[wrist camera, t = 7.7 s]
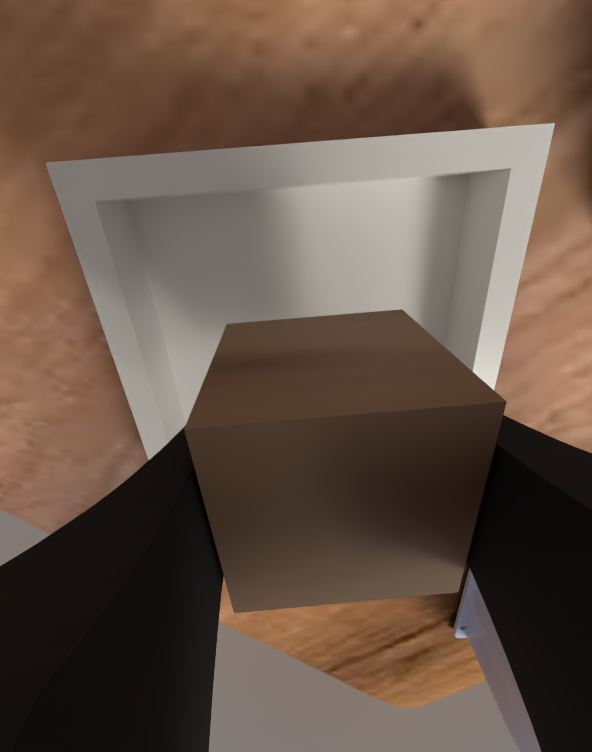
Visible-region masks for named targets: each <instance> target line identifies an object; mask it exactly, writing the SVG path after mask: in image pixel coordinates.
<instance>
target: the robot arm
mask: <svg viewBox="0 0 592 752" xmlns="http://www.w3.org/2000/svg"><path fill="white" fill-rule="evenodd" d="M185 426H186V425H185ZM185 426H184V427H183V428H182V429H181V430H180V431H179V432H178V433H177V434H176V435H175V436H174V437H173V438H172V439H171V440H170V441H169V442H168V443H167V444H166V445H165V446H164V447H163V448H162V449H161V450H160V451H159V452H158V453H157V454H155V455H154V456H153V457H152V458H151V459H150V460H149V461H148V462H147V463H146V464H144V465H143V466H142V467H141V468H140V469H139V470H138V471H137V472H136V473H134V474H133V475H132V476H131V477H130V478H128V479H127V480H126V481H125V482H124V483H122V484H121V485H120V486H119V487H117V488H116V489H115V490H113V491H112V492H111V493H109V494H108V495H107V496H106V497H104V498H103V499H102V500H100V501H99V502H98V503H96V504H95V505H94V506H92V507H91V508H89V509H88V510H87V511H85V512H84V513H82V514H81V515H79V516H78V517H76V518H75V519H73V520H72V521H70V522H69V523H67V524H66V525H64V526H63V527H61V528H60V529H58V530H57V531H55V532H54V533H52V534H51V535H49V536H48V537H47V538H45V539H44V540H42V541H41V542H39V543H38V544H36V545H34V546H33V547H31V548H29V549H28V550H26V551H25V552H23V553H21V554H20V555H18V556H17V557H15V558H13V559H12V560H10V561H8V562H6V563H5V564H3V565H1V566H0V752H208V751H209V736H210V722H211V707H212V693H213V692H212V691H213V680H214V668H215V656H216V643H217V631H218V621H219V611H220V600H221V590H222V583H223V577H224V574H223V570H222V567H221V563H220V559H219V556H218V552H217V548H216V545H215V541H214V537H213V534H212V530H211V526H210V523H209V519H208V515H207V512H206V508H205V504H204V501H203V497H202V493H201V490H200V486H199V482H198V479H197V475H196V471H195V468H194V464H193V460H192V457H191V453H190V449H189V446H188V442H187V438H186V435H185V431H184V428H185ZM466 562H467V564H468V566H469V571H468V575H467V579H466V583H465V586H464V590H463V594H462V598H461V602H460V606H459V609H458V613H457V617H456V621H455V625H454V628H453V633H454V635H455V637H457V638H468V639H469V641H470V643H471V645H472V648H473V650H474V652H475V655H476V657H477V659H478V662H479V664H480V666H481V668H482V671H483V673H484V675H485V678H486V680H487V682H488V684H489V687H490V689H491V691H492V694H493V696H494V698H495V701H496V703H497V705H498V708H499V710H500V712H501V714H502V717H503V719H504V721H505V724H506V726H507V728H508V730H509V733H510V735H511V736H512V738H513V740H514V742H515V744H516V745H517V747H518V749H519V750H520V751H521V752H592V453H589V452H587V451H584V450H581V449H579V448H576V447H573V446H571V445H569V444H566V443H564V442H561V441H559V440H556V439H554V438H552V437H550V436H547V435H545V434H543V433H541V432H538V431H536V430H534V429H532V428H529V427H527V426H525V425H523V424H521V423H519V422H517V421H515V420H512V419H510V418H508V417H506V416H504V415H503V417H502V421H501V425H500V429H499V433H498V437H497V441H496V445H495V449H494V453H493V457H492V461H491V465H490V469H489V473H488V477H487V481H486V485H485V489H484V493H483V497H482V501H481V505H480V509H479V513H478V516H477V520H476V524H475V528H474V532H473V536H472V540H471V544H470V548H469V552H468V556H467V560H466Z"/></svg>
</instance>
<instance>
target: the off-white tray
mask: <svg viewBox="0 0 592 752" xmlns="http://www.w3.org/2000/svg"><path fill="white" fill-rule="evenodd" d="M554 126H555V123H550V124H537V125H524V126H511V127H498V128H485V129H472V130H459V131H446V132H433V133H421V134H408V135H395V136H382V137H369V138H356V139H343V140H330V141H317V142H304V143H291V144H278V145H265V146H252V147H239V148H226V149H213V150H200V151H187V152H174V153H162V154H149V155H136V156H123V157H110V158H97V159H84V160H71V161H58V162H45V164H46V167H47V169H48V172H49V175H50V178H51V181H52V184H53V187H54V190H55V192H56V195H57V198H58V201H59V204H60V207H61V210H62V213H63V215H64V218H65V221H66V224H67V227H68V230H69V233H70V236H71V238H72V241H73V244H74V247H75V250H76V253H77V256H78V259H79V261H80V264H81V267H82V270H83V273H84V276H85V279H86V282H87V284H88V287H89V290H90V293H91V296H92V299H93V302H94V305H95V307H96V310H97V313H98V316H99V319H100V322H101V325H102V328H103V330H104V333H105V336H106V339H107V342H108V345H109V348H110V351H111V353H112V356H113V359H114V362H115V365H116V368H117V371H118V374H119V376H120V379H121V382H122V385H123V388H124V391H125V394H126V397H127V399H128V402H129V405H130V408H131V411H132V414H133V417H134V420H135V422H136V425H137V428H138V431H139V434H140V437H141V440H142V443H143V445H144V448H145V451H146V454H147V457H148V460H150V459H151V458H152V457H153V456H154V455H155V454H157V453H158V452H159V451H160V450H161V449H162V448H163V447H164V446H165V445H166V444H167V443H168V442H169V441H170V440H171V439H172V438H173V437H174V436H175V435H176V434H177V433H178V432H179V431H180V430H181V429H182V428H183V427H184V426H185V425H186V423H187V421H188V418H189V416H190V413H191V411H192V408H193V406H194V404H195V401H196V399H197V396H198V394H199V391H200V389H201V386H202V384H203V381H204V379H205V376H206V374H207V371H208V369H209V367H210V364H211V362H212V359H213V357H214V354H215V352H216V349H217V347H218V344H219V342H220V339H221V337H222V335H223V332H224V330H225V327H226V325H227V324H231V323H243V322H255V321H267V320H279V319H291V318H303V317H315V316H327V315H339V314H351V313H363V312H375V311H387V310H400V309H402V310H403V311H405V312H406V313H407V314H408V315H409V316H410V317H411V318H412V319H414V320H415V321H416V322H417V323H418V324H419V325H420V326H422V327H423V328H424V329H425V330H426V331H427V332H428V333H429V334H431V335H432V336H433V337H434V338H435V339H436V340H437V341H439V342H440V343H441V344H442V345H443V346H444V347H445V348H446V349H448V350H449V351H450V352H451V353H452V354H453V355H454V356H456V357H457V358H458V359H459V360H460V361H461V362H462V363H463V364H465V365H466V366H467V367H468V368H469V369H470V370H471V371H473V372H474V373H475V374H476V375H477V376H478V377H479V378H480V379H482V380H483V381H484V382H485V383H486V384H487V385H488V386H490V387H491V388H492V389H493V390H494V389H495V385H496V380H497V376H498V371H499V367H500V363H501V358H502V354H503V349H504V345H505V341H506V336H507V332H508V328H509V323H510V319H511V314H512V310H513V306H514V301H515V297H516V292H517V288H518V284H519V279H520V275H521V271H522V266H523V262H524V257H525V253H526V249H527V244H528V240H529V235H530V231H531V227H532V222H533V218H534V213H535V209H536V205H537V200H538V196H539V192H540V187H541V183H542V178H543V174H544V170H545V165H546V161H547V156H548V152H549V148H550V143H551V139H552V135H553V130H554Z"/></svg>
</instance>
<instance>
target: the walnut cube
mask: <svg viewBox="0 0 592 752" xmlns="http://www.w3.org/2000/svg"><path fill="white" fill-rule="evenodd" d="M505 406H506V401H505V400H504V399H503V398H502V397H501V396H500V395H499V394H497V393H496V392H495V391H494V390H493V389H492V388H491V387H490V386H488V385H487V384H486V383H485V382H484V381H483V380H482V379H480V378H479V377H478V376H477V375H476V374H475V373H474V372H473V371H471V370H470V369H469V368H468V367H467V366H466V365H465V364H463V363H462V362H461V361H460V360H459V359H458V358H457V357H456V356H454V355H453V354H452V353H451V352H450V351H449V350H448V349H446V348H445V347H444V346H443V345H442V344H441V343H440V342H439V341H437V340H436V339H435V338H434V337H433V336H432V335H431V334H429V333H428V332H427V331H426V330H425V329H424V328H423V327H422V326H420V325H419V324H418V323H417V322H416V321H415V320H414V319H412V318H411V317H410V316H409V315H408V314H407V313H406V312H405V311H403V310H402V309H400V310H387V311H375V312H363V313H351V314H339V315H327V316H315V317H303V318H291V319H279V320H267V321H255V322H243V323H231V324H227V325H226V327H225V330H224V332H223V335H222V337H221V339H220V342H219V344H218V347H217V349H216V352H215V354H214V357H213V359H212V362H211V364H210V367H209V369H208V371H207V374H206V376H205V379H204V381H203V384H202V386H201V389H200V391H199V394H198V396H197V399H196V401H195V404H194V406H193V408H192V411H191V413H190V416H189V418H188V421H187V423H186V426H185V428H184V431H185V435H186V438H187V442H188V446H189V449H190V453H191V457H192V460H193V464H194V468H195V471H196V475H197V479H198V482H199V486H200V490H201V493H202V497H203V501H204V504H205V508H206V512H207V515H208V519H209V523H210V526H211V530H212V534H213V537H214V541H215V545H216V548H217V552H218V556H219V559H220V563H221V567H222V570H223V574H224V578H225V581H226V585H227V589H228V592H229V596H230V600H231V603H232V607H233V611H234V613H240V612H251V611H261V610H272V609H283V608H294V607H305V606H316V605H327V604H337V603H348V602H359V601H370V600H381V599H392V598H403V597H413V596H424V595H435V594H446V593H457V592H459V588H460V584H461V580H462V576H463V572H464V568H465V564H466V560H467V556H468V552H469V548H470V544H471V540H472V536H473V532H474V528H475V524H476V520H477V516H478V513H479V509H480V505H481V501H482V497H483V493H484V489H485V485H486V481H487V477H488V473H489V469H490V465H491V461H492V457H493V453H494V449H495V445H496V441H497V437H498V433H499V429H500V425H501V421H502V417H503V413H504V409H505Z"/></svg>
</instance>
